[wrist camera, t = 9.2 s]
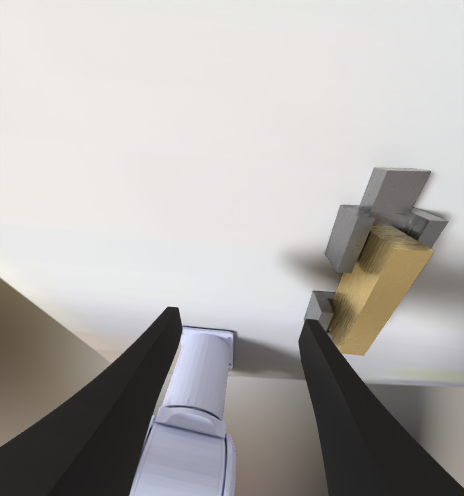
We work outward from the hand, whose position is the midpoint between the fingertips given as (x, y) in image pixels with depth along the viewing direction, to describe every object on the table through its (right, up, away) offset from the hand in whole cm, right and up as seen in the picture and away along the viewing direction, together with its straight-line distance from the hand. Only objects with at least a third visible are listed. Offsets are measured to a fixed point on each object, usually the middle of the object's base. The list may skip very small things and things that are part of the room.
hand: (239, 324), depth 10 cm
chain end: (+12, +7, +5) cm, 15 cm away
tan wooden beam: (+12, +1, +8) cm, 14 cm away
